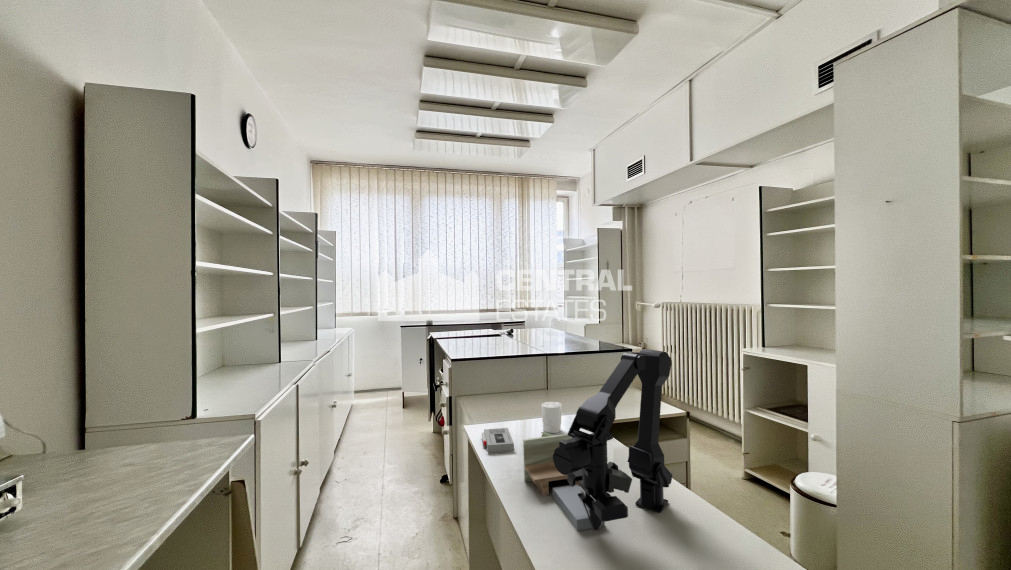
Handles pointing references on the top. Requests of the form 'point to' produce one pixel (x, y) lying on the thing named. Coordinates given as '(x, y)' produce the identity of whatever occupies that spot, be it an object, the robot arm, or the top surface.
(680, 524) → the top surface
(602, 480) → the robot arm
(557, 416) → the white cup
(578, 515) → the grey chamfered block
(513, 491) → the top surface
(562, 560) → the top surface
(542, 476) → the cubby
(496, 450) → the cassette player
